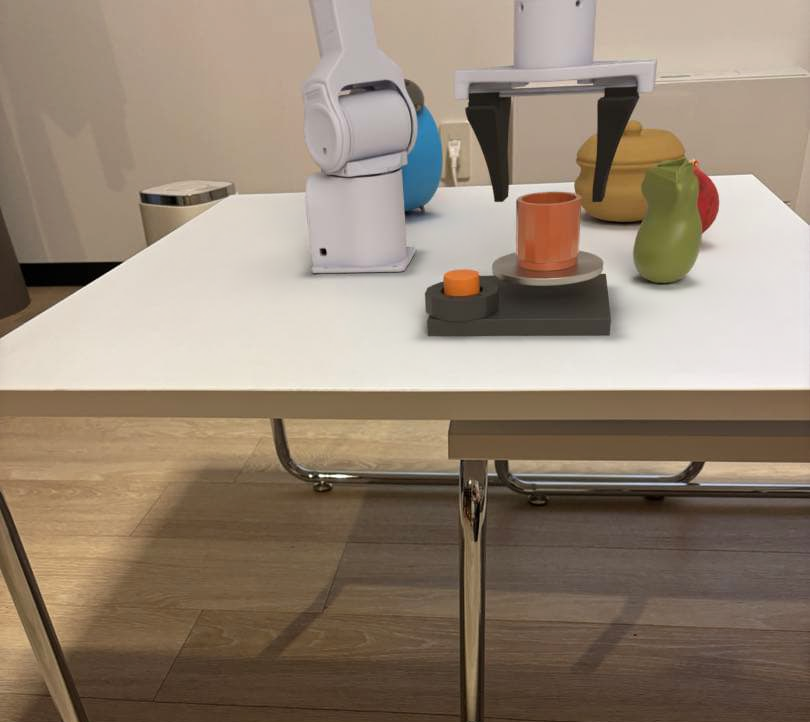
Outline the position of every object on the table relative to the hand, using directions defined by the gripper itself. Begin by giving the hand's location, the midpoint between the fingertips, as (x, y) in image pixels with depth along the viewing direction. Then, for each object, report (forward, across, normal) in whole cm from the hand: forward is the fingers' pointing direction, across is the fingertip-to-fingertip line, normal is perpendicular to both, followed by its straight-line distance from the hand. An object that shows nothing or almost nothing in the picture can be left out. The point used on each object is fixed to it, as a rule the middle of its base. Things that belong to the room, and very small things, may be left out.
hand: (549, 199), depth 65 cm
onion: (+9, -10, -20) cm, 24 cm away
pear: (+9, -9, -8) cm, 15 cm away
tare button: (+6, +6, +6) cm, 10 cm away
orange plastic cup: (+5, 0, 0) cm, 5 cm away
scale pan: (+6, 0, 0) cm, 6 cm away
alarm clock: (+9, +26, -34) cm, 43 cm away
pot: (+9, -3, -32) cm, 34 cm away
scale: (+8, +2, +2) cm, 9 cm away
